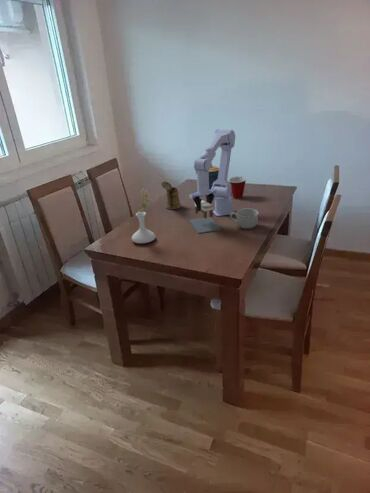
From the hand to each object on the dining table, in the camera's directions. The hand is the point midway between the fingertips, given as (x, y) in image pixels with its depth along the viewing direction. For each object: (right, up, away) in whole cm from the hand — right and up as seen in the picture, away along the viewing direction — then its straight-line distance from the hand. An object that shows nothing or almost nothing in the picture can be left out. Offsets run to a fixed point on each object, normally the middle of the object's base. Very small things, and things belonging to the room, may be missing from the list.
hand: (203, 209), depth 184 cm
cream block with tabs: (0, -3, +1) cm, 3 cm away
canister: (+8, +18, +57) cm, 60 cm away
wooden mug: (-17, +4, +30) cm, 35 cm away
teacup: (+20, -9, 0) cm, 22 cm away
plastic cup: (+23, +11, +40) cm, 48 cm away
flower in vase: (-29, -16, -8) cm, 34 cm away
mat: (+1, -8, +4) cm, 9 cm away
